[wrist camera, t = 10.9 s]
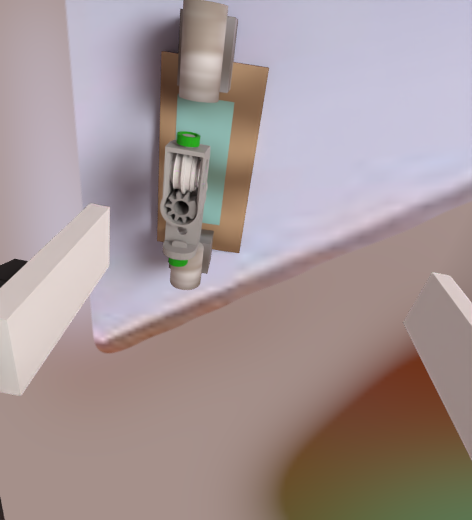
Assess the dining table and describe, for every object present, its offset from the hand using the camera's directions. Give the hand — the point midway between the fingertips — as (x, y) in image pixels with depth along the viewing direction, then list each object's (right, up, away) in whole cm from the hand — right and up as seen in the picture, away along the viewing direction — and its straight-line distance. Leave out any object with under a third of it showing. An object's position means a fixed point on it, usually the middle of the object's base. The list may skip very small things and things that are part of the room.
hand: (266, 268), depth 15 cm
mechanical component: (-5, +9, +20) cm, 23 cm away
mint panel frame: (-4, +10, +21) cm, 23 cm away
